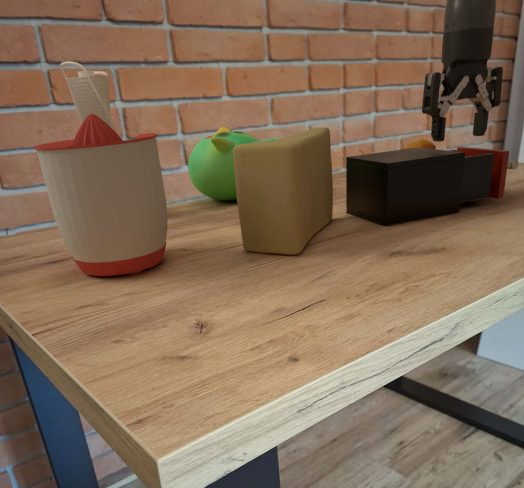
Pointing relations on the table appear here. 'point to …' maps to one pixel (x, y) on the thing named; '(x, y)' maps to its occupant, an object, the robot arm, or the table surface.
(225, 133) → the toy bird
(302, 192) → the cheese
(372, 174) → the cabinet
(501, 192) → the drawer
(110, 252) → the citrus juicer
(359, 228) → the table surface
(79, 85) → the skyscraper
